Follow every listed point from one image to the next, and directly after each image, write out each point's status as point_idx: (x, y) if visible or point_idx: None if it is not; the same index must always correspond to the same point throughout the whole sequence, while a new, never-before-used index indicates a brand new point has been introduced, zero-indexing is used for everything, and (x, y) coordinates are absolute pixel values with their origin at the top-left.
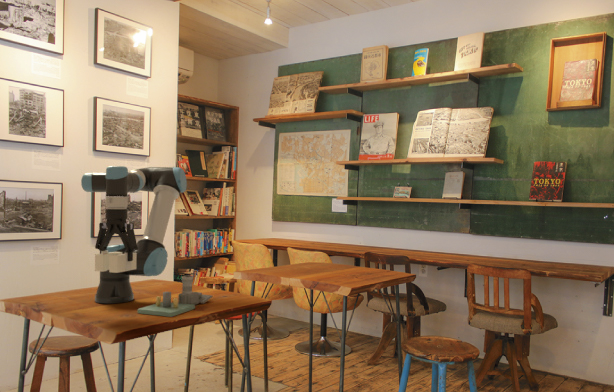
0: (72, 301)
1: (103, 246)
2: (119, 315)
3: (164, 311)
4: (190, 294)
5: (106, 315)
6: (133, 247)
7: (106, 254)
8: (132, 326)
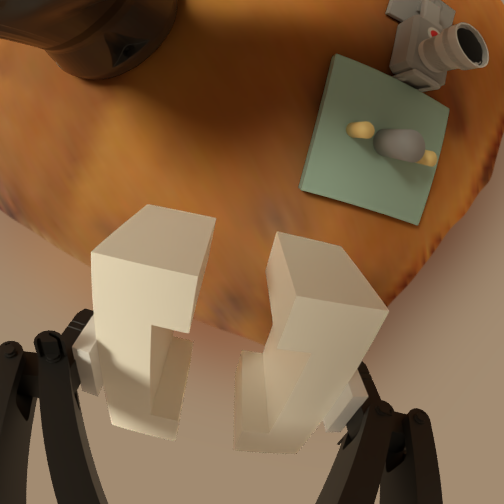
0: (15, 93)
1: (83, 422)
2: (252, 227)
3: (397, 212)
4: (445, 73)
5: None
6: (403, 454)
7: (177, 423)
8: None
